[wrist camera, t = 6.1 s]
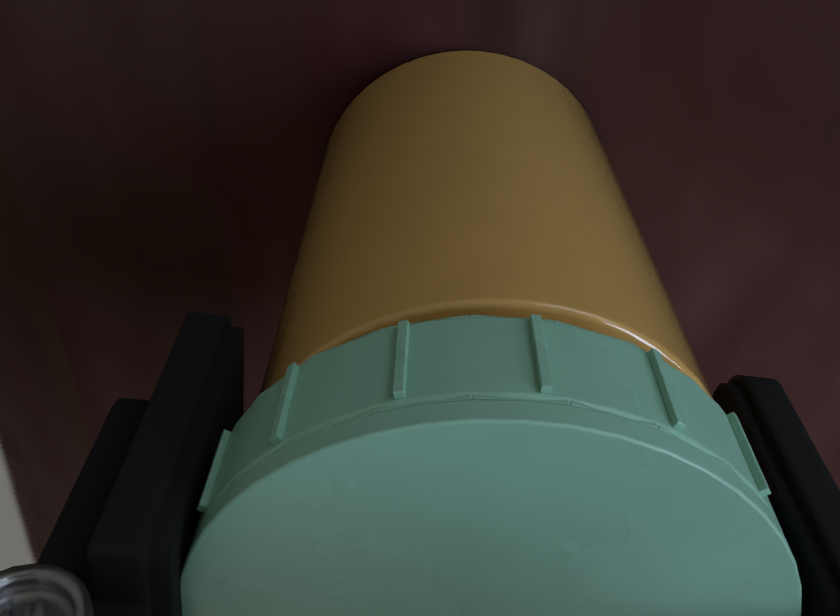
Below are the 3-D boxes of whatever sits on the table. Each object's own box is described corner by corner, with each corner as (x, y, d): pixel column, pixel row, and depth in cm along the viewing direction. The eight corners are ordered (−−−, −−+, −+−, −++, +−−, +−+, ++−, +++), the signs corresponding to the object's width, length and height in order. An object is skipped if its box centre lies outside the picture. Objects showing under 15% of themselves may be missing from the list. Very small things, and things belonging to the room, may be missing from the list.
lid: (273, 230, 8) (236, 330, 6) (876, 408, 9) (955, 525, 7) (174, 618, 11) (139, 731, 10) (602, 706, 12) (621, 818, 11)
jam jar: (608, 287, 19) (748, 708, 11) (355, 320, 20) (298, 740, 11) (599, 24, 16) (799, 347, 7) (289, 76, 16) (132, 427, 8)
